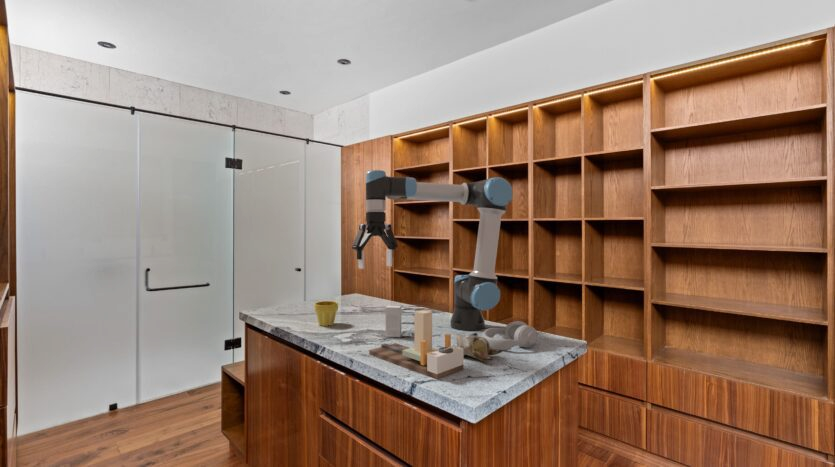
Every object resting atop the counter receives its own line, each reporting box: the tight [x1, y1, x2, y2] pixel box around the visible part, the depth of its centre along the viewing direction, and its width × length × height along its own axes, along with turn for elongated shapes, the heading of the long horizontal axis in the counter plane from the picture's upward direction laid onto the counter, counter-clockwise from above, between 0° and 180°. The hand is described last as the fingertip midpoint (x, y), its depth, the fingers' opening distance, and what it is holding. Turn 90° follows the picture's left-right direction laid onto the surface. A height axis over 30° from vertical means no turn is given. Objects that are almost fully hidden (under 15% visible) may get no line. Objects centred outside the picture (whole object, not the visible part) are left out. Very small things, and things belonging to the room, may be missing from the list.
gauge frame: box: [421, 333, 452, 365], centre depth 125 cm, size 1×12×7 cm, turn 134°
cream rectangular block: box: [427, 345, 464, 374], centre depth 122 cm, size 4×12×6 cm, turn 134°
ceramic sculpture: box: [456, 332, 503, 362], centre depth 136 cm, size 11×9×15 cm
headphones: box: [481, 320, 538, 351], centre depth 152 cm, size 18×8×20 cm
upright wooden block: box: [402, 309, 439, 361], centre depth 129 cm, size 10×9×15 cm
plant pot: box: [314, 300, 339, 327], centre depth 182 cm, size 10×10×10 cm
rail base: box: [368, 342, 464, 380], centre depth 132 cm, size 32×12×2 cm, turn 44°
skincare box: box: [384, 305, 402, 338], centre depth 163 cm, size 6×4×12 cm
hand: (375, 267), depth 154 cm, fingers open, 13 cm apart
